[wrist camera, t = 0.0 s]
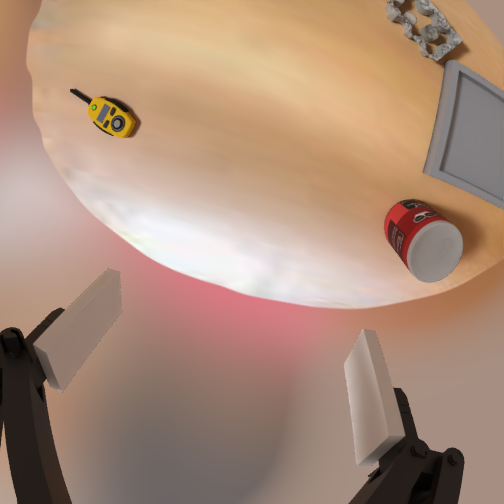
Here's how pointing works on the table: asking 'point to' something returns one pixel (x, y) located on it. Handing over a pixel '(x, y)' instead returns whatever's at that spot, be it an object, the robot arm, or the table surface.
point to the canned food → (423, 240)
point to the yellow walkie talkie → (109, 116)
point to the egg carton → (427, 32)
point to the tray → (469, 135)
